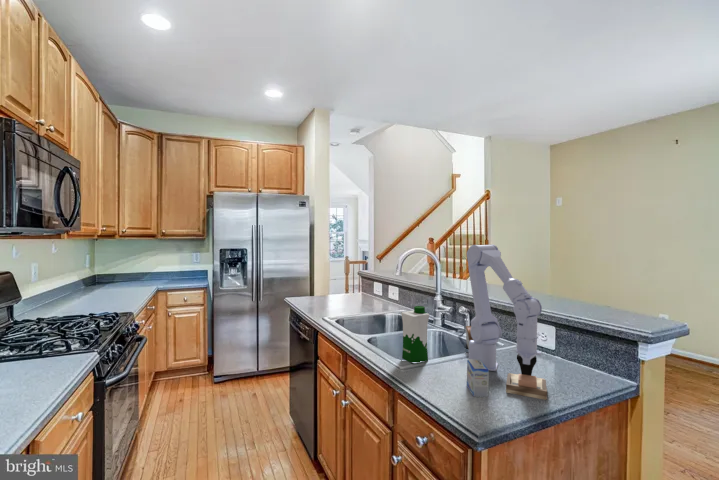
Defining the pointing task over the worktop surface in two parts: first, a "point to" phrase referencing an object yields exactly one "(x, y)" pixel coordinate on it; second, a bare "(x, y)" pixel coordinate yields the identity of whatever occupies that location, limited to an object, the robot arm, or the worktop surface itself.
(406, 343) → the milk carton
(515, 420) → the worktop surface
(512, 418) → the worktop surface
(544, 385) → the dock
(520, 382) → the peach toy brick
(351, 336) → the worktop surface
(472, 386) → the medicine box
